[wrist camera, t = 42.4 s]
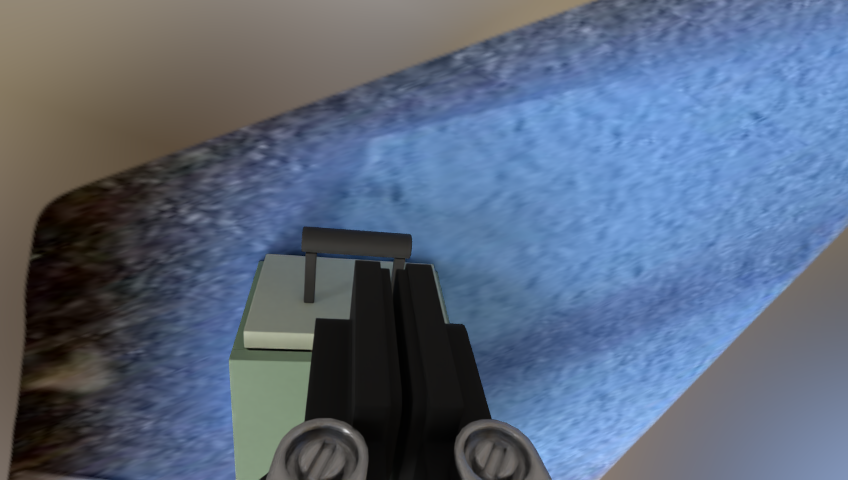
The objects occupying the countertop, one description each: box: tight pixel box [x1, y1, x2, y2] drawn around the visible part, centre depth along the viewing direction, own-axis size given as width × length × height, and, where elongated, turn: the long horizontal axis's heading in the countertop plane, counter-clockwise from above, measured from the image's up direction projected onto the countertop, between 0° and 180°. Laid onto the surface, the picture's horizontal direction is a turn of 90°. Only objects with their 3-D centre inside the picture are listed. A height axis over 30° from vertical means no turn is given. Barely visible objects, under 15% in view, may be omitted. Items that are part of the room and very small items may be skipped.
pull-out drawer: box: [243, 227, 447, 352], centre depth 33 cm, size 18×11×8 cm, turn 171°
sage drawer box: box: [229, 261, 450, 480], centre depth 35 cm, size 15×13×10 cm
